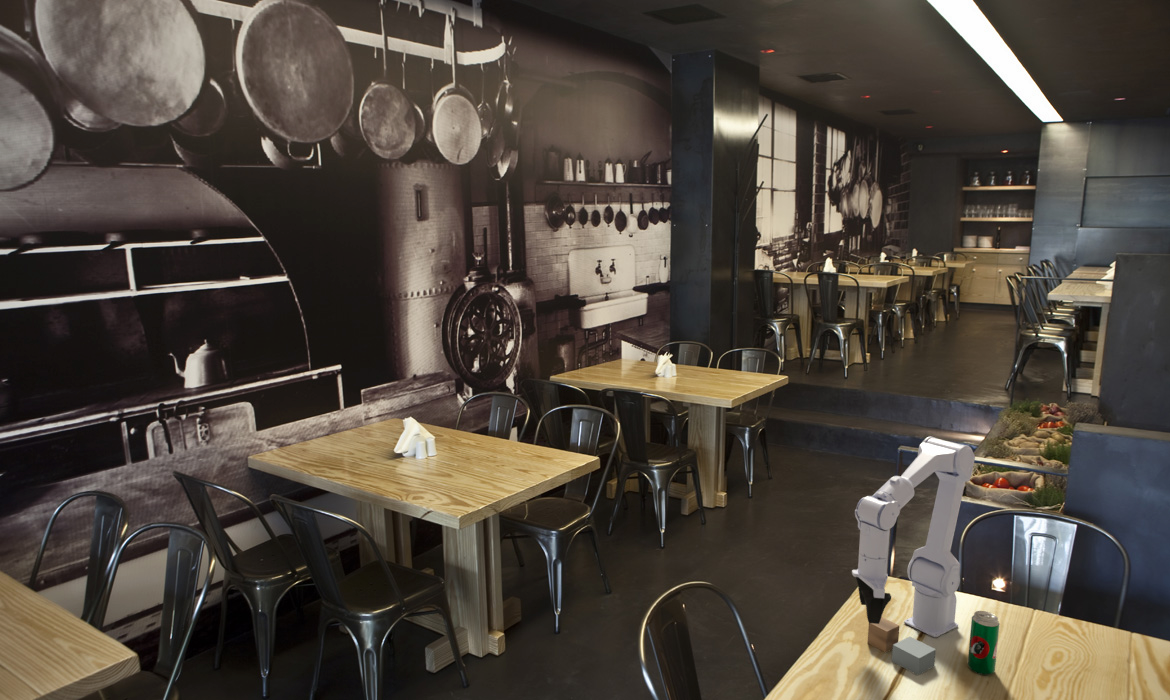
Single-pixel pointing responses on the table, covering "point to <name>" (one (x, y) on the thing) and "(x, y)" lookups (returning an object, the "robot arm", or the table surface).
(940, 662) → the table surface
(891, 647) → the walnut block
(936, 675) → the table surface
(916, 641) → the slate block
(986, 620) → the soda can
